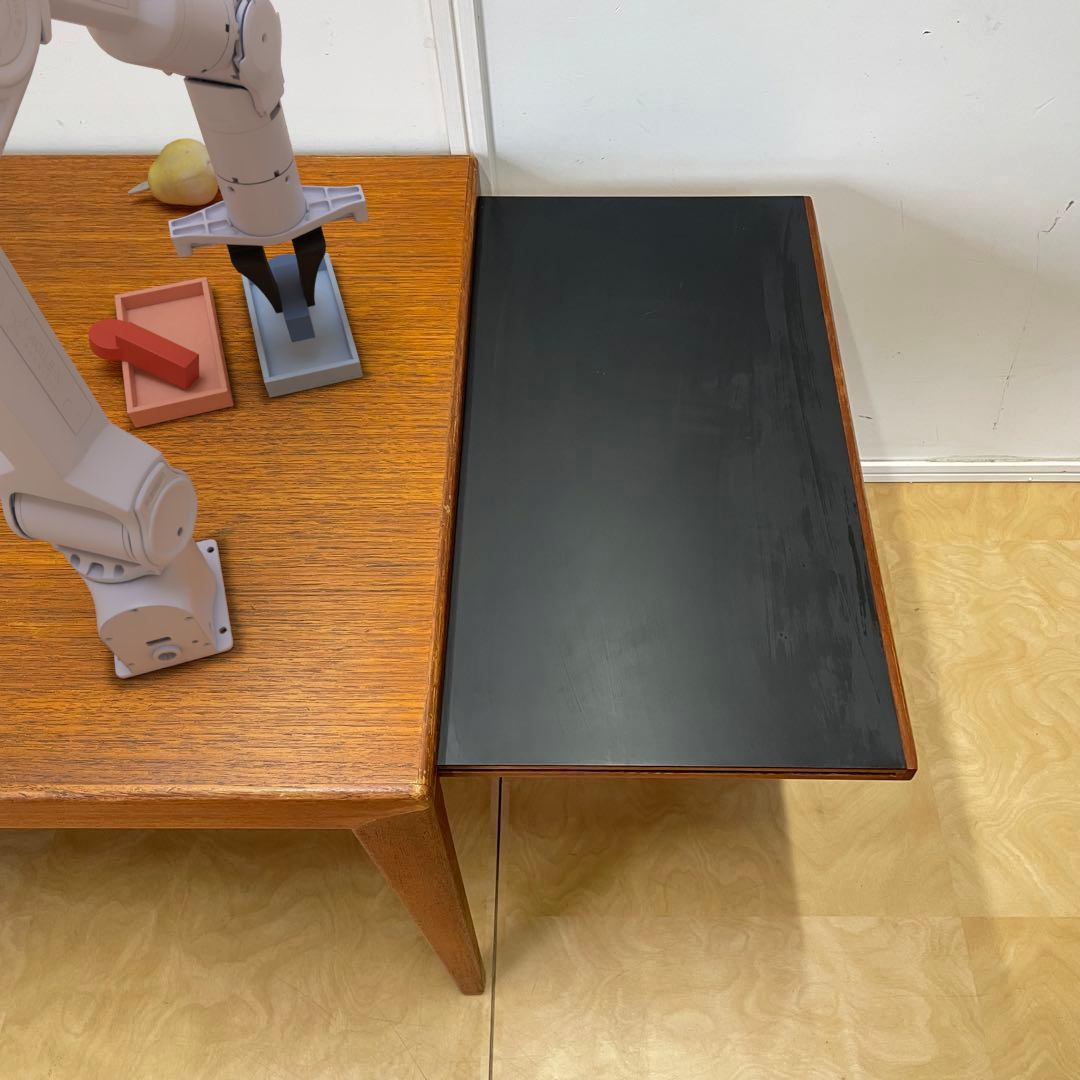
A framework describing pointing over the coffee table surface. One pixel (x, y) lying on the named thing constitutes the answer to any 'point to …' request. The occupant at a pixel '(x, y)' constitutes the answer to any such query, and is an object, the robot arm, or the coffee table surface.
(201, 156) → the fruit
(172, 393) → the rose tray
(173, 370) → the red spoon
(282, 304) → the blue spoon
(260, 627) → the coffee table surface
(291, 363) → the blue tray
